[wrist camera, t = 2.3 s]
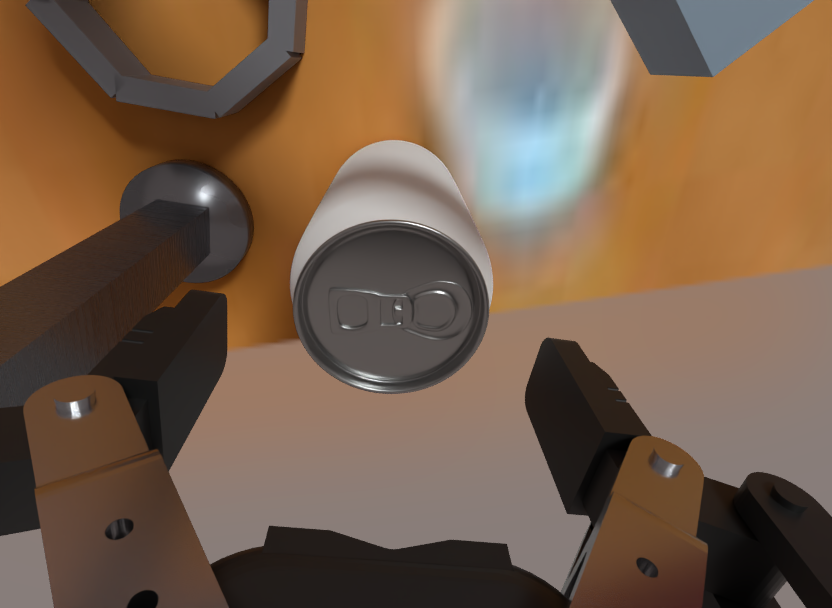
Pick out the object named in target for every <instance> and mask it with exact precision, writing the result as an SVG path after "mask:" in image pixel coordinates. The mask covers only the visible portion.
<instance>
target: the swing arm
mask: <svg viewBox="0 0 832 608" xmlns="http://www.w3.org/2000/svg"><path fill="white" fill-rule="evenodd" d="M812 1H813V0H611V2H612V4H613V6H614V8H615V10H616V11H617V13H618V15H619V17H620V19H621V21H622V23H623V24H624V26H625V28H626V30H627V32H628V34H629V36H630V38H631V39H632V41H633V43H634V45H635V47H636V49H637V51H638V52H639V54H640V56H641V58H642V60H643V62H644V64H645V65H646V67H647V69H648V71H649V73H650V74H651V75H676V76H701V77H714V76H715V75H716V74H718V73H719V72H720V71H721V70H723V69H724V68H725V67H727V66H728V65H729V64H731V63H732V62H733V61H735V60H736V59H737V58H739V57H740V56H741V55H742V54H744V53H745V52H746V51H748V50H749V49H750V48H752V47H753V46H754V45H756V44H757V43H758V42H760V41H761V40H762V39H764V38H765V37H766V36H767V35H769V34H770V33H771V32H773V31H774V30H775V29H777V28H778V27H779V26H781V25H782V24H783V23H785V22H786V21H787V20H788V19H790V18H791V17H792V16H794V15H795V14H796V13H798V12H799V11H800V10H802V9H803V8H804V7H806V6H807V5H808V4H809V3H811V2H812Z"/></svg>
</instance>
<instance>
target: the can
mask: <svg viewBox="0 0 832 608" xmlns="http://www.w3.org/2000/svg"><path fill="white" fill-rule="evenodd" d="M290 292H291V298H292V303H293V316H294V322H295V326H296V330H297V333H298V336H299V338H300V340H301V342H302V344H303V346H304V348H305V349H306V351H307V352H308V354H309V355H310V356H311V357H312V359H313V360H314V361H315V362H316V363H317V364H318V365H319V366H320V367H321V368H322V369H323V370H325V371H326V372H327V373H329V374H330V375H331V376H333V377H334V378H336V379H338V380H339V381H341V382H343V383H346V384H348V385H350V386H352V387H355V388H358V389H361V390H365V391H369V392H375V393H383V394H384V393H385V394H398V393H408V392H414V391H418V390H422V389H425V388H428V387H431V386H433V385H436V384H438V383H440V382H442V381H444V380H445V379H447V378H449V377H450V376H452V375H453V374H454V373H456V372H457V371H458V370H459V369H461V368H462V367H463V366H464V365H465V364H466V363H467V362H468V361H469V359H470V358H471V357H472V356H473V354H474V353H475V351H476V350H477V348H478V347H479V345H480V343H481V341H482V339H483V337H484V334H485V331H486V328H487V324H488V318H489V308H490V305H491V300H492V294H493V275H492V268H491V263H490V259H489V255H488V252H487V250H486V247H485V245H484V242H483V240H482V237H481V235H480V233H479V231H478V229H477V227H476V224H475V222H474V220H473V218H472V216H471V214H470V212H469V210H468V208H467V206H466V204H465V201H464V199H463V197H462V195H461V193H460V191H459V189H458V187H457V185H456V183H455V181H454V179H453V177H452V176H451V174H450V172H449V171H448V169H447V168H446V166H445V165H444V164H443V163H442V162H441V160H440V159H439V158H437V157H436V156H435V155H434V154H433V153H431V152H430V151H428V150H427V149H425V148H423V147H421V146H419V145H417V144H414V143H411V142H406V141H400V140H387V141H380V142H376V143H373V144H370V145H368V146H366V147H364V148H362V149H360V150H359V151H357V152H356V153H354V154H353V155H352V156H351V157H350V158H349V159H348V160H347V161H346V162H345V163H344V164H343V165H342V167H341V168H340V170H339V171H338V173H337V174H336V176H335V178H334V179H333V181H332V183H331V185H330V186H329V188H328V190H327V192H326V193H325V195H324V197H323V199H322V201H321V202H320V204H319V206H318V208H317V210H316V211H315V213H314V215H313V217H312V219H311V221H310V222H309V224H308V226H307V228H306V230H305V232H304V234H303V236H302V238H301V240H300V242H299V244H298V247H297V249H296V252H295V255H294V259H293V263H292V267H291V274H290Z"/></svg>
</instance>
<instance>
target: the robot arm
mask: <svg viewBox="0 0 832 608" xmlns="http://www.w3.org/2000/svg"><path fill="white" fill-rule="evenodd" d="M226 357H227V298H226V295H225V294H222V293H214V292H207V291H199V290H190V291H189V292H188V293H187V294H186V295H185V297H184V298H183V299H182V300H181V301H180V302H179V303H178V304H177V306H176V307H175V308H172V307H162V308H160V309H158V310H156V311H154V312H152V313H150V314H148V315H146V316H144V317H143V318H142V319H141V320H140V321H139V322H138V323H137V324H136V325H135V326H134V327H133V328H132V331H129V332H128V333H127V334H126V336H125V337H124V338H123V339H122V342H119V343H118V344H117V345H116V346H115V347H114V348H113V349H112V350H111V351H110V352H109V353H108V354H107V355H106V356H105V357H104V358H103V359H102V360H101V361H100V362H99V363H98V364H97V365H96V366H95V367H94V368H93V369H92V370H91V371H90V372H89V373H88V374H87V375H81V376H74V377H68V378H65V379H61V380H58V381H55V382H52V383H50V384H48V385H46V386H44V387H42V388H40V389H39V390H37V391H36V392H35V393H33V394H32V395H31V396H30V397H29V398H28V399H27V401H26V402H25V405H23V406H15V407H5V408H0V536H2V535H8V534H13V533H19V532H24V531H30V530H35V529H41V533H42V539H43V545H44V551H45V557H46V563H47V569H48V574H49V580H50V587H51V592H52V599H53V604H54V608H781V607H780V605H779V604H778V602H777V601H776V599H775V598H774V596H775V594H776V593H777V592H778V591H779V590H780V588H781V587H782V586H783V585H784V584H785V582H786V581H788V583H789V584H790V586H791V587H792V588H793V590H794V591H795V593H796V594H797V595H798V597H799V598H800V599H801V601H802V602H803V604H804V605H805V607H806V608H832V517H831V516H830V515H829V513H828V512H827V511H826V510H825V509H824V508H823V507H822V506H821V505H820V504H819V503H818V502H817V501H816V500H815V499H814V498H813V497H812V496H810V495H809V494H808V493H806V492H805V491H803V490H802V489H801V488H799V487H797V486H796V485H794V484H792V483H791V482H789V481H787V480H785V479H783V478H780V477H778V476H775V475H771V474H768V473H762V472H756V473H755V472H754V473H751V474H749V475H748V476H747V478H746V479H745V481H744V482H743V484H742V485H741V487H740V488H737V487H734V486H731V485H727V484H724V483H722V482H718V481H716V480H713V479H709V478H707V477H704V474H703V471H702V469H701V467H700V466H699V465H698V463H697V462H696V461H695V460H694V459H693V458H692V457H691V456H690V455H689V454H688V453H687V452H685V451H684V450H682V449H681V448H679V447H678V446H676V445H674V444H672V443H671V442H668V441H666V440H664V439H661V438H657V437H653V436H651V434H650V433H649V431H648V430H647V429H646V427H645V426H644V424H643V423H642V421H641V420H640V419H639V417H638V416H637V414H636V413H635V412H634V410H633V409H632V407H631V406H630V404H629V403H626V399H625V397H624V396H623V394H622V393H621V391H618V387H617V386H616V384H615V383H614V382H613V380H612V379H611V377H610V376H609V375H608V374H607V373H606V372H605V371H603V370H602V369H601V368H600V367H598V366H597V365H596V364H595V363H593V362H590V361H589V360H588V358H587V357H586V355H585V354H584V352H583V351H582V349H581V348H580V346H579V345H578V343H577V342H575V341H568V340H561V339H554V338H546V339H545V340H544V341H543V342H542V344H541V346H540V349H539V352H538V355H537V358H536V361H535V364H534V367H533V369H532V372H531V375H530V378H529V381H528V384H527V387H526V392H525V405H526V410H527V412H528V415H529V418H530V420H531V423H532V425H533V428H534V430H535V433H536V436H537V438H538V441H539V443H540V446H541V448H542V451H543V453H544V456H545V459H546V461H547V464H548V466H549V469H550V471H551V474H552V476H553V479H554V481H555V484H556V486H557V489H558V491H559V494H560V497H561V499H562V502H563V504H564V507H565V510H566V512H567V514H576V515H587V516H589V518H590V521H591V523H590V525H589V527H588V529H587V531H586V533H585V535H584V538H583V540H582V543H581V545H580V547H579V550H578V552H577V554H576V557H575V559H574V562H573V564H572V567H571V569H570V571H569V573H568V576H567V579H566V581H565V583H564V586H563V588H562V590H561V592H559V591H558V590H557V589H556V588H554V587H553V586H551V585H550V584H548V583H547V582H546V581H544V580H543V579H541V578H539V577H537V576H536V575H534V574H532V573H530V572H528V571H526V570H523V569H521V568H519V567H517V566H514V565H512V564H511V559H510V555H509V551H508V547H507V544H500V543H487V542H474V541H461V540H447V541H441V542H435V543H430V544H424V545H419V546H413V547H407V548H401V549H394V550H393V549H387V548H383V547H380V546H377V545H374V544H370V543H367V542H365V541H361V540H358V539H355V538H352V537H349V536H346V535H343V534H340V533H336V532H333V531H330V530H317V529H304V528H291V527H278V526H269V528H268V532H267V536H266V540H265V544H264V546H262V547H256V548H251V549H248V550H245V551H241V552H238V553H235V554H232V555H230V556H227V557H225V558H222V559H220V560H218V561H216V562H214V563H212V564H209V562H208V560H207V557H206V555H205V553H204V550H203V548H202V546H201V544H200V541H199V539H198V537H197V535H196V533H195V530H194V528H193V526H192V523H191V521H190V519H189V517H188V515H187V512H186V510H185V508H184V505H183V503H182V501H181V499H180V496H179V494H178V492H177V490H176V488H175V485H174V483H173V481H172V479H171V476H170V475H169V470H170V468H171V466H172V464H173V463H174V461H175V459H176V457H177V455H178V453H179V451H180V450H181V448H182V446H183V444H184V442H185V441H186V439H187V437H188V435H189V433H190V431H191V430H192V428H193V426H194V424H195V422H196V420H197V419H198V417H199V415H200V413H201V411H202V409H203V408H204V406H205V404H206V402H207V400H208V398H209V397H210V395H211V393H212V391H213V389H214V387H215V386H216V384H217V382H218V380H219V378H220V377H221V375H222V372H223V369H224V366H225V362H226Z"/></svg>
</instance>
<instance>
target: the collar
mask: <svg viewBox="0 0 832 608" xmlns="http://www.w3.org/2000/svg"><path fill="white" fill-rule="evenodd" d="M307 3H308V0H269V15H268V39H267V40H265V41H264V42H263V43H262V44H261V45H260V46H259V47H257V48H256V49H255V50H254V51H253V52H252V53H251V54H249V55H248V56H247V57H246V58H245V59H244V60H243V61H241V62H240V63H239V64H238V65H237V66H236V67H235V68H234V69H232V70H231V71H230V72H229V73H228V74H227V75H226V76H224V77H223V78H222V79H221V80H220V81H219V82H218V83H216V84H215V85H214V86H209V85H204V84H199V83H193V82H188V81H182V80H177V79H172V78H166V77H161V76H156V75H151V74H150V73H149V72H148V71H147V70H146V68H145V67H144V66H143V65H142V64H141V63H140V62H139V60H138V59H137V58H136V57H135V56H134V55H133V53H132V52H131V51H130V50H129V49H128V48H127V47H126V45H125V44H124V43H123V42H122V41H121V40H120V38H119V37H118V36H117V35H116V34H115V33H114V32H113V30H112V29H111V28H110V27H109V26H108V25H107V23H106V22H105V21H104V20H103V19H102V18H101V17H100V15H99V14H98V13H97V12H96V11H95V10H94V8H93V7H92V6H91V5H90V4H89V3H88V0H30V1H29V2H28V3H27V4H26V6H27V8H28V9H29V10H30V11H31V12H32V13H33V14H34V15H35V16H36V17H37V18H38V19H39V21H40V22H41V23H42V24H43V25H44V26H45V27H46V28H47V29H48V30H49V31H50V32H51V34H52V35H53V36H54V37H55V38H56V39H57V40H58V41H59V42H60V43H61V44H62V45H63V47H64V48H65V49H66V50H67V51H68V52H69V53H70V54H71V55H72V56H73V57H74V58H75V60H76V61H77V62H78V63H79V64H80V65H81V66H82V67H83V68H84V69H85V70H86V71H87V73H88V74H89V75H90V76H91V77H92V78H93V79H94V80H95V81H96V82H97V83H98V84H99V86H100V87H101V88H102V89H103V90H104V91H105V92H106V93H107V94H108V95H109V96H110V97H111V98H115V97H116V101H118V102H124V103H129V104H135V105H141V106H146V107H152V108H157V109H163V110H169V111H174V112H180V113H185V114H191V115H196V116H202V117H208V118H213V119H216V118H219V117H223V116H227V115H230V114H234V113H237V112H239V111H240V110H241V109H242V108H244V107H245V106H246V105H247V104H248V103H249V102H251V101H252V100H253V99H254V98H255V97H257V96H258V95H259V94H260V93H261V92H262V91H264V90H265V89H266V88H267V87H268V86H270V85H271V84H272V83H273V82H274V81H276V80H277V79H278V78H279V77H280V76H281V75H283V74H284V73H285V72H286V71H287V70H289V69H290V68H291V67H292V66H293V65H294V64H296V63H297V62H298V61H299V60H300V59H302V57H301V56H300V54H299V53H304V51H305V35H306V19H307Z"/></svg>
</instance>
